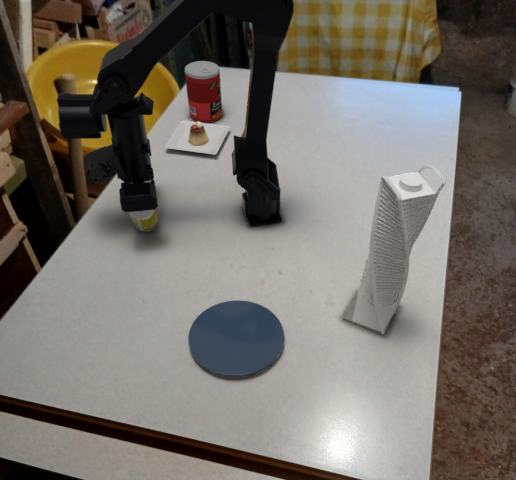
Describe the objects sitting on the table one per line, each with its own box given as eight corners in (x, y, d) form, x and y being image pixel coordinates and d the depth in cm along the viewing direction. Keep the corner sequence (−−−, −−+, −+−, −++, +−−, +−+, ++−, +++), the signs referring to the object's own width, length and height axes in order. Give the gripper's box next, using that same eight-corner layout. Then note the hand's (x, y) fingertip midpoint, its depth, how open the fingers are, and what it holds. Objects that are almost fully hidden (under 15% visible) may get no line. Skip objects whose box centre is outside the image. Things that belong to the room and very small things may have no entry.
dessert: (164, 152, 113) (161, 131, 109) (182, 124, 120) (179, 104, 116) (216, 159, 111) (214, 138, 107) (230, 130, 118) (229, 110, 114)
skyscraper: (406, 310, 84) (458, 158, 62) (389, 343, 80) (439, 194, 58) (359, 292, 87) (392, 140, 65) (340, 324, 82) (369, 173, 60)
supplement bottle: (161, 212, 97) (157, 194, 89) (153, 235, 97) (148, 218, 88) (137, 205, 97) (130, 185, 89) (129, 227, 96) (121, 209, 88)
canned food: (218, 125, 120) (214, 77, 111) (185, 121, 121) (179, 74, 112) (225, 109, 125) (223, 62, 116) (194, 105, 126) (189, 59, 117)
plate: (271, 299, 86) (271, 293, 85) (294, 370, 77) (294, 365, 76) (183, 314, 84) (182, 308, 83) (196, 388, 75) (195, 383, 74)
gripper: (80, 109, 89) (99, 184, 102) (79, 173, 79) (101, 248, 91) (143, 105, 91) (155, 178, 104) (152, 167, 80) (163, 241, 93)
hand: (143, 210), depth 98 cm, fingers closed
